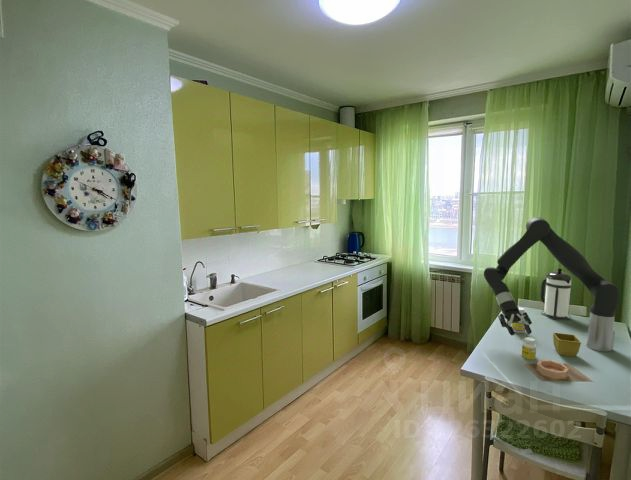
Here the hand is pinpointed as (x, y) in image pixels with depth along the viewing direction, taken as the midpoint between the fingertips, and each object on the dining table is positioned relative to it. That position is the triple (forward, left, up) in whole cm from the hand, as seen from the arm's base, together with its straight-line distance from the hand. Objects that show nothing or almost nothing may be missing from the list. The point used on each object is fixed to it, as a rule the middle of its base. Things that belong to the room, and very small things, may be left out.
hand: (521, 334), depth 164 cm
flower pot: (-20, +1, -10) cm, 22 cm away
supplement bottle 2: (-1, +5, -10) cm, 11 cm away
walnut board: (-5, +19, -10) cm, 22 cm away
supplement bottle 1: (-13, -27, -10) cm, 31 cm away
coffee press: (-46, -50, -10) cm, 68 cm away
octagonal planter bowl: (-3, +19, -9) cm, 21 cm away
